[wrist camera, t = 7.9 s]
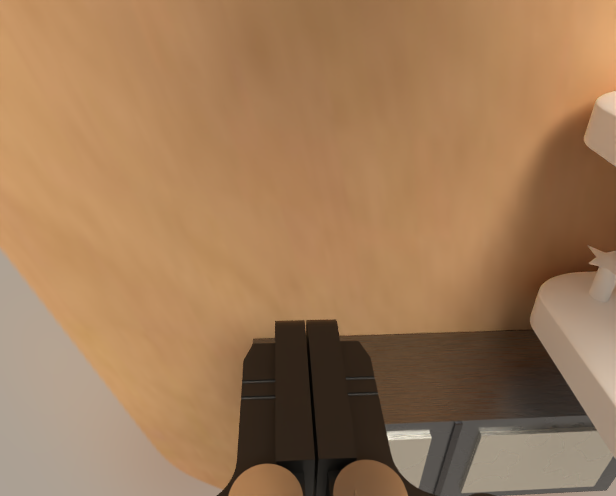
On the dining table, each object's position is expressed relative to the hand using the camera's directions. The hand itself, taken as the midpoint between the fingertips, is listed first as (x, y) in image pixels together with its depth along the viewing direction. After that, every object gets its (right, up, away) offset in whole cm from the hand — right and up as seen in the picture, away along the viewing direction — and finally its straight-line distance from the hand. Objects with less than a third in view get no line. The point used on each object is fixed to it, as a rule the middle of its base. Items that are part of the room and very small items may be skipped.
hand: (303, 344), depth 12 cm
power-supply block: (+6, -4, +13) cm, 15 cm away
